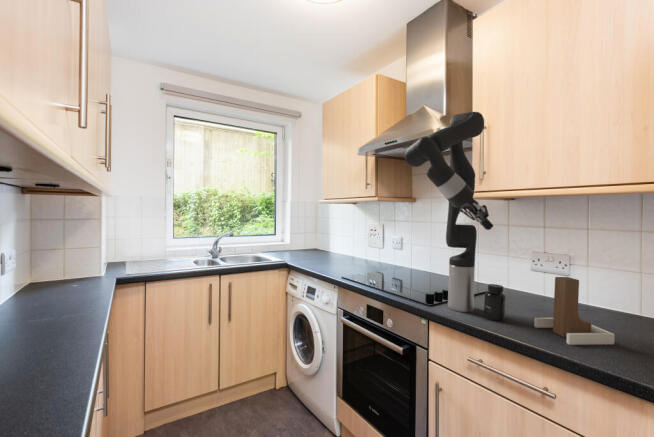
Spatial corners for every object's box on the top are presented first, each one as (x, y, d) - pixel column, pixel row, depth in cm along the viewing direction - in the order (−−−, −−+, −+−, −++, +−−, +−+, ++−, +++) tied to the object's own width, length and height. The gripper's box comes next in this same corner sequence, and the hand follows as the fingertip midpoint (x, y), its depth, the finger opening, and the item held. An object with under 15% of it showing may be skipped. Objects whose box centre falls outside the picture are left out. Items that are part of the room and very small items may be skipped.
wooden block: (579, 331, 101) (581, 276, 100) (591, 337, 96) (594, 280, 95) (552, 331, 100) (554, 276, 100) (563, 337, 96) (565, 279, 95)
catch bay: (534, 326, 105) (534, 317, 105) (573, 326, 106) (573, 317, 105) (569, 344, 91) (569, 334, 91) (614, 344, 92) (614, 334, 91)
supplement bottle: (481, 318, 112) (482, 285, 111) (486, 313, 117) (487, 282, 116) (502, 323, 107) (504, 288, 107) (507, 318, 112) (508, 285, 112)
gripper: (474, 179, 93) (511, 221, 95) (453, 183, 106) (486, 219, 108) (456, 197, 93) (494, 238, 94) (437, 198, 106) (471, 234, 108)
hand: (490, 228), depth 101 cm, fingers closed
